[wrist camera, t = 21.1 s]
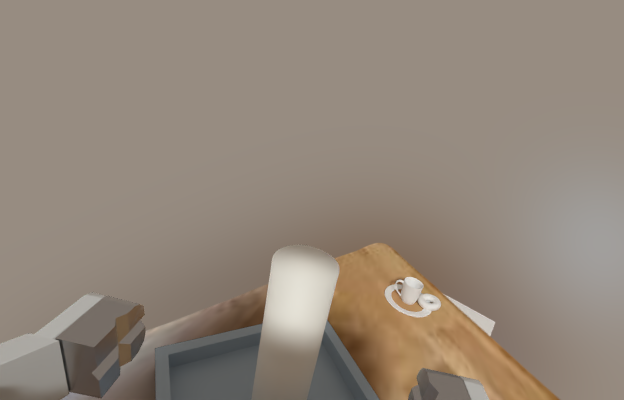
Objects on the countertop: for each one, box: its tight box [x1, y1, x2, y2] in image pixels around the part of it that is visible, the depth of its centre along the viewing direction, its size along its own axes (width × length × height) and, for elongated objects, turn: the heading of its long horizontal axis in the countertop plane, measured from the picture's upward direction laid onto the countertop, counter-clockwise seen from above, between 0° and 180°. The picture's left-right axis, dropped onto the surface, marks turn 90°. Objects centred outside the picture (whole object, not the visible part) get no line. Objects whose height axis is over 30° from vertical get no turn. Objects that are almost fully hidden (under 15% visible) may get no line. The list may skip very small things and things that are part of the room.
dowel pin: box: [251, 245, 339, 400], centre depth 25 cm, size 5×5×18 cm
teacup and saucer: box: [385, 277, 495, 336], centre depth 50 cm, size 9×8×4 cm
